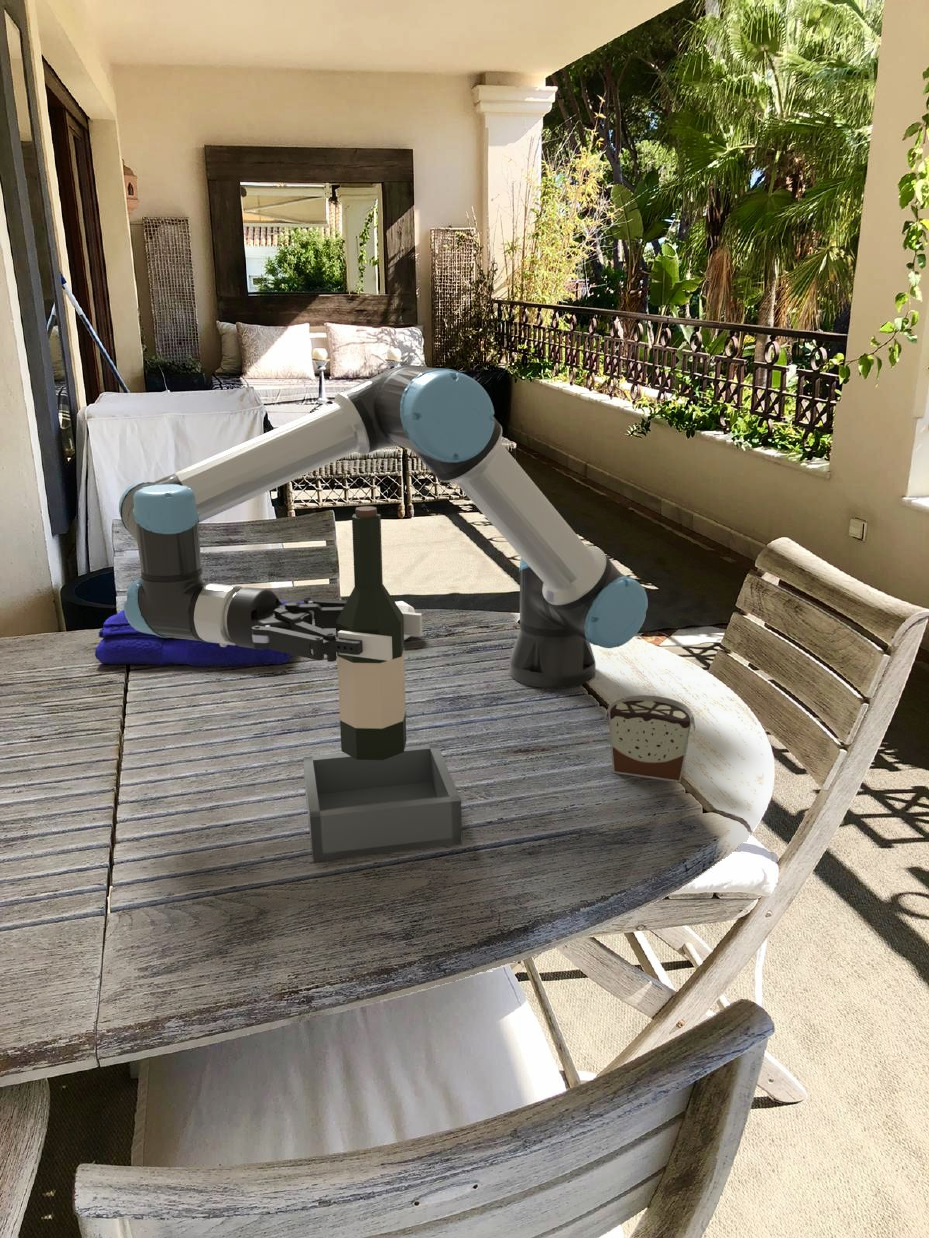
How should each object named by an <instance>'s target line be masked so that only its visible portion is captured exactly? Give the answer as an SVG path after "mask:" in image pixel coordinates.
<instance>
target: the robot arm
mask: <svg viewBox="0 0 929 1238" xmlns="http://www.w3.org/2000/svg"><path fill="white" fill-rule="evenodd" d="M494 415H495V409H494V405H493V402H492V400H491V397H490V396H489V393H488V392H487V391H486V390H485V388H484V387H483V386H482V385H481V384H480V383H479V382H478V381H477V380H475V379H474V378H473V377H471V376H470V375H469V376H468V375H467V374H465V373H462V372H460V371H457V370H455V369H451V368H450V369H449V368H437V367H427V366H426V367H425V366H420V365H414V364H413V365H412V364H409V365H408V364H407V365H405V364H404V365H399V366H397V367H393V368H390V369H387V370H386V371H384V372H381V373H379V374H376V375H375V376H372V377H370V378H369V379H367V380H364V381H362V382H360V383H358V384H356V385H354V386H352V387H350V388H347V389H345V390H343V391H341V392H339V393H337V394H336V395H335V398H334V401H333V403H331V404H329V405H327V406H325V407H322V408H320V409H317V410H315V411H312V412H311V413H309V414H305V415H304V416H302V417H300V418H297V419H294V420H292V421H290V422H288V423H286V424H283V425H281V426H279V427H277V428H274V429H272V430H270V431H268V432H265V433H263V434H261V435H258V436H256V437H254V438H252V439H249V440H246V441H244V442H243V443H240V444H238V445H235V446H233V447H231V448H229V449H227V450H224V451H222V452H220V453H217V454H215V455H213V456H210V457H208V458H205V459H204V460H201V461H199V462H197V463H195V464H192V465H190V466H187V467H186V468H183V469H181V470H178V471H176V472H174V473H171V474H170V475H168V476H165V477H162V478H161V479H158V480H155V481H152V482H151V481H140V482H136V483H134V484H132V485H130V486H129V487H128V488H126V489H125V491H124V492H123V493H122V494H121V497H120V500H119V502H118V503H119V504H118V513H119V516H120V521H121V523H122V526H123V527H124V529H125V531H126V530H127V532H128V534H130V535H131V536H132V537H133V539H134V540H135V542H136V543H137V549H138V556H139V564H140V574H141V576H140V577H138V578H136V579H134V581H132V582H131V583H130V585H129V586H128V588H127V590H126V593H125V595H126V601H124V603H123V608H124V609H123V610H124V611H125V615H126V618H127V620H128V622H129V624H130V625H131V626H132V627H133V628H134V629H136V630H137V631H139V632H143V633H148V634H153V635H157V636H159V637H165V638H179V639H188V640H197V641H203V642H212V643H220V646H221V647H226V646H227V645H237V646H240V647H247V648H254V649H270V650H274V651H279V652H283V653H288V654H292V655H293V656H297V657H302V658H305V659H309V660H315V661H322V660H324V659H325V655H326V657H327V660H326V661H327V662H328V663H333V662H337V653H339V654H340V655H348V656H355V657H363V658H371V659H378V660H386V661H390V660H392V637H391V636H383V635H375V634H366V633H358V632H350V631H342V630H340V631H339V632H338V637H336V632H333V631H330V630H327V629H336V621H337V619H338V617H339V615H340V613H341V611H342V609H343V608H344V606H345V604H346V602H347V600H345V599H344V600H342V599H341V600H339V599H320V598H316V597H315V598H314V597H310V596H309V597H308V596H307V597H304V598H303V603H304V604H299V603H296V602H297V601H296V602H295V601H292V602H293V603H286V604H285V605H283V604H282V603H281V601H280V599H279V597H278V596H277V594H276V593H275V592H273V591H272V590H271V589H266V588H265V589H264V588H259V587H258V588H257V587H250V586H249V587H248V586H247V587H246V586H245V587H243V586H241V585H235V584H223V583H212V582H211V583H210V582H204V578H203V577H204V576H203V565H202V555H201V543H200V540H201V539H200V529H199V524H200V523H201V522H203V521H206V520H208V519H210V518H212V517H215V516H217V515H219V514H222V513H223V512H226V511H229V510H230V509H232V508H234V507H237V506H238V505H239V506H240V505H242V504H243V503H245V502H248V501H249V500H251V499H254V498H256V497H260V496H261V495H263V494H265V493H268V492H270V491H271V490H274V489H276V488H278V487H281V486H283V485H285V484H288V483H289V482H292V481H294V480H297V479H298V478H300V477H303V476H304V475H307V474H309V473H311V472H314V471H317V470H319V469H321V468H324V467H325V466H327V465H330V464H331V463H334V462H336V461H338V460H341V459H342V458H345V457H347V456H349V455H352V454H353V453H358V454H360V455H362V456H366V455H369V454H370V453H373V452H375V451H377V450H380V449H384V448H391V447H402V448H406V449H408V450H410V451H412V453H414V455H415V456H417V457H418V458H419V459H420V461H421V462H422V463H423V464H424V465H425V466H426V467H427V468H428V470H429V471H430V472H431V473H432V474H433V475H434V476H435V478H436V479H437V480H438V481H440V482H443V483H455V484H456V485H457V486H458V487H459V488H460V489H461V491H462V492H463V493H464V494H465V495H466V497H467V498H468V499H469V500H470V501H471V502H472V503H473V504H474V506H476V508H477V509H478V510H479V511H480V512H481V513H482V514H483V516H484V517H485V518H486V519H487V520H488V521H489V523H490V524H491V525H492V526H493V527H494V528H495V529H496V531H498V533H499V535H500V536H502V537H503V538H504V540H505V541H506V542H507V543H508V544H509V545H510V546H511V547H512V549H514V551H515V552H516V553H517V554H518V555H519V557H520V561H519V568H518V572H519V631H518V634H517V637H516V640H515V643H514V646H513V649H512V652H511V653H510V658H509V662H508V663H509V672H508V673H509V675H510V677H511V678H513V679H514V680H515V681H517V682H518V683H521V684H524V685H526V686H530V687H535V688H544V689H567V688H568V689H569V688H573V687H574V688H575V687H578V686H582V685H585V684H586V683H589V682H590V681H593V679H594V678H595V677H596V659H595V656H594V652H593V648H592V646H591V645H593V646H599V647H600V648H602V649H603V648H604V649H614V648H618V647H621V646H624V645H625V644H627V643H629V642H630V641H631V640H632V639H633V638H634V637H635V636H636V635H637V634H638V633H639V631H640V629H641V628H642V626H643V624H644V623H645V621H646V620H645V619H646V617H647V614H646V612H647V610H648V607H649V606H648V605H649V601H648V595H647V592H646V590H645V589H644V586H643V585H642V584H641V583H640V582H638V581H637V580H636V579H635V578H633V577H631V576H626V575H624V574H623V573H622V572H620V571H619V570H618V569H619V568H617V567H616V565H615V564H614V563H613V562H612V561H611V559H610V558H609V557H608V556H607V555H606V553H605V552H604V551H603V550H602V549H601V548H599V547H598V546H592V545H591V546H587V545H586V544H585V543H584V542H583V540H582V539H581V538H580V537H579V536H578V535H577V534H576V532H575V531H574V530H573V528H572V527H571V526H570V525H569V524H568V522H567V521H566V520H565V519H564V517H563V516H562V515H561V514H560V513H559V511H558V510H557V509H556V508H555V506H554V505H553V504H552V503H551V502H550V501H549V499H548V498H547V496H545V494H543V492H542V491H541V490H540V488H539V487H538V486H537V485H536V483H535V482H534V481H533V480H532V479H531V477H530V476H529V475H528V473H526V471H525V470H524V469H523V468H522V467H521V465H520V464H519V463H518V461H517V460H516V459H515V457H513V456H512V454H511V453H510V452H509V450H507V448H506V447H505V446H504V445H503V443H502V436H503V426H502V425H501V424H500V423H499V422H498V420H497V419H496V418H495V416H494ZM401 612H402V614H403V617H404V635H411V636H414V637H421V636H422V635H423V613H419V612H415V613H412V612H403V611H401ZM313 621H314V625H313ZM292 655H291V656H292Z"/></svg>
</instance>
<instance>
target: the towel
mask: <svg viewBox="0 0 929 1238" xmlns="http://www.w3.org/2000/svg"><path fill="white" fill-rule="evenodd" d="M280 602H281V601H280ZM293 602H294V601H282V602H281V603H282V604H283V605H285V604H286V603H293ZM296 603H299V604H304V602H301V601H299V602H298V601H296ZM102 626H103V627H102V628H101V629H99V631H98V638H101V639H102V640H101V639H100V642H99V643H98V644H97V646H96V648H95V652H94V656H95V658H96V660H98V662H99V663H100V664H103V665H105V664H109V665H123V664H124V665H126V664H127V665H148V664H149V665H153V666H155V665H156V666H166V665H170V664H171V665H172V664H173V665H191V666H192V667H227V666H228V667H240V666H242V667H243V666H246V667H248V666H259V665H262V666H264V665H282V664H285V663H287V662H289V660H290V659H291V657H292V654H288V653H283V652H279V651H274V650H270V649H254V648H247V647H240V646H237V645H227V646H226V647H221V646H220V643H212V642H203V641H197V640H188V639H179V638H165V637H159V636H157V635H153V634H148V633H143V632H139V631H137V630H136V629H134V628H133V627H132V626H131V625H130V624H129V622H128V620H127V618H126V615H125V611H124V609H122V610H121V611H120V612H118V613H117V614H113V615H111V616H109V617H108V618H107V619H106V620H105V622H103V625H102Z"/></svg>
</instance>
